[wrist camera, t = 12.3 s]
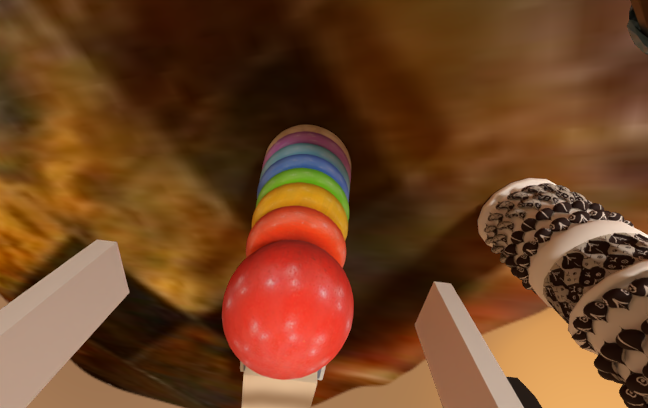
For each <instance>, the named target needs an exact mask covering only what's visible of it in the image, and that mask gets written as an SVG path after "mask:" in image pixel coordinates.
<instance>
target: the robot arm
mask: <svg viewBox="0 0 648 408" xmlns="http://www.w3.org/2000/svg"><path fill="white" fill-rule="evenodd" d="M630 1H631V3H632V6H631V8H630V11H629V22H628V25H627V28H628V31H629V34H630V36H631V38H632V40H633V42H634V44H635V45H636V46H637V47H638V48H640V49H641V50H642V51H643V52H644V53H645V54H647V55H648V0H630ZM128 294H129V289H128V285H127V281H126V277H125V273H124V269H123V265H122V260H121V256H120V252H119V248H118V244H117V242H113V241H105V240H96V241H94V242H93V243H91V244H90V245H89V246H87V247H86V248H85V249H83V250H82V251H80V252H79V253H78V254H76V255H75V256H74V257H72V258H71V259H69V260H68V261H67V262H65V263H64V264H62V265H61V266H60V267H58V268H57V269H56V270H54V271H53V272H51V273H50V274H49V275H47V276H46V277H45V278H43V279H42V280H40V281H39V282H38V283H36V284H35V285H33V286H32V287H31V288H29V289H28V290H27V291H25V292H24V293H22V294H21V295H20V296H18V297H17V298H16V299H14V300H13V301H11V302H10V303H9V304H7V305H6V306H4V307H3V308H2V309H0V408H26V407H27V406H28V405H29V404H30V402H31V401H32V400H33V399H34V398H35V397H36V396H37V395H38V394H39V392H40V391H41V390H42V389H43V388H44V387H45V386H46V385H47V384H48V382H49V381H50V380H51V379H52V378H53V377H54V376H55V375H56V374H57V372H58V371H59V370H60V369H61V368H62V367H63V366H64V365H65V364H66V362H67V361H68V360H69V359H70V358H71V357H72V356H73V355H74V354H75V352H76V351H77V350H78V349H79V348H80V347H81V346H82V345H83V344H84V342H85V341H86V340H87V339H88V338H89V337H90V336H91V335H92V334H93V332H94V331H95V330H96V329H97V328H98V327H99V326H100V325H101V324H102V322H103V321H104V320H105V319H106V318H107V317H108V316H109V315H110V314H111V312H112V311H113V310H114V309H115V308H116V307H117V306H118V305H119V304H120V302H121V301H122V300H123V299H124V298H125V297H126V296H127V295H128ZM415 328H416V331H417V334H418V337H419V340H420V343H421V345H422V348H423V351H424V354H425V357H426V360H427V363H428V365H429V369H430V371H431V374H432V377H433V380H434V383H435V386H436V389H437V392H438V395H439V397H440V400H441V403H442V406H443V408H542V407H541V405H540V404H539V402H538V401H537V399H536V397H535V396H534V395H533V394H532V393H531V392H530V391H529V390H528V388H526V386H525V385H524V384H523V383H522V382H521V381H520V380H519V379H518V378H513V377H506V376H505V375H504V373H503V371H502V369H501V368H500V366H499V364H498V363H497V361H496V359H495V357H494V356H493V354H492V352H491V351H490V349H489V347H488V346H487V344H486V342H485V340H484V339H483V337H482V335H481V334H480V332H479V330H478V329H477V327H476V325H475V323H474V322H473V320H472V318H471V317H470V315H469V313H468V312H467V310H466V308H465V306H464V305H463V303H462V301H461V300H460V298H459V296H458V295H457V293H456V291H455V289H454V288H453V286H452V284H451V283H443V282H435V281H434V282H433V284H432V287H431V289H430V291H429V293H428V296H427V298H426V300H425V303H424V305H423V307H422V309H421V312H420V314H419V316H418V318H417V321H416V323H415Z"/></svg>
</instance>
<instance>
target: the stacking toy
mask: <svg viewBox="0 0 648 408" xmlns="http://www.w3.org/2000/svg"><path fill="white" fill-rule="evenodd" d="M350 183H351V160H350V156H349V153H348V151H347V149H346V147H345V145H344V144H343V142H342V141H341V140H340V139H339V138H338V137H337V136H336V135H335V134H333V133H332V132H330V131H329V130H327V129H324V128H322V127H319V126H315V125H297V126H293V127H290V128H288V129H286V130H284V131H283V132H281V133H280V134H279V135H277V136H276V137H275V139H274V140H273V141H272V142H271V144H270V145H269V147H268V149H267V151H266V154H265V159H264V162H263V166H262V172H261V176H260V182H259V185H258V190H257V202H256V209H255V211H254V214H253V218H252V229H251V231H250V233H249V236H248V239H247V243H246V257H247V258H246V259H244V261H243V262H242V263H241V264H240V265H239V266H238V268H237V269H236V271H235V272H234V274H233V275H232V277H231V279H230V280H229V283H228V286H227V288H226V291H225V294H224V300H223V306H222V322H223V329H224V333H225V336H226V339H227V341H228V344H229V346H230V348H231V350H232V351H233V352H234V354H235V355H236V356H237V358H238V359H239V360H240V361H241V362H242V363H243V364H244V365H245V366H247V367H248V368H249V369H251V370H252V371H254V372H256V373H258V374H260V375H262V376H265V377H269V378H273V379H280V380H290V379H297V378H302V377H305V376H308V375H310V374H312V373H315V372H317V371H318V370H320V369H321V368H322V367H324V366H325V365H327V364H328V363H329V362H330V361H331V360H332V359H333V358H334V357H335V356H336V355H337V353H338V352H339V351H340V349H341V348H342V346H343V344H344V343H345V341H346V339H347V337H348V334H349V332H350V329H351V326H352V320H353V309H354V302H353V294H352V290H351V286H350V283H349V280H348V278H347V276H346V274H345V272H344V270H343V269H342V268H343V266H344V263H345V259H346V244H345V240H346V237H347V233H348V220H349V193H350Z"/></svg>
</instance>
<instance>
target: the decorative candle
mask: <svg viewBox="0 0 648 408" xmlns="http://www.w3.org/2000/svg"><path fill="white" fill-rule="evenodd" d="M477 222H478V233H479V235H480V236H481V237H482V239H483V240H484V242H485V243H486V244H487V245H489V246H491V247H492V248H491V251H492V252H493V253H496V254H498V253H501V255H500V256H501V257H500V261H501V262H502V263H506V265H507V266H508V267H511V272H512V274H513V275H514V276H516V277H518V278H519V279H521V280H522V284H523V286H524V287H525V288H526V289H528V290H533V292H534V293H535V294H537V295H538V296H539V297H540V298H541V299H542V300H543V301H544V302H545V303H546V304H547V305H548V306H549V307H551V308H553V309H555V311H557V312H558V314H559V315H560V316H561V317H562V318H563V319H564V320H565V321H566V322H567V323H568V324H569V327H568V331H569V332H570V334H571V335H572V338H573V339H574V340H575V341H576V343H577V344H578V345H579V346H580V347H581V348H582V349H585V350H588V351H590V352H593V353H595V354H597V355H598V357H597V358H596V359H595V361H594V366H595V367H596V368H597V369H598V373H599V374H600V376H602V377H603V378H604V379H607V380H611V381H614V382H616V383H620V384H623V385H622V387H621V388H620V390H619V393H620V396H621V397H622V399H623V400H624V403H625V404H626V406H627V407H628V408H648V235H647V234H645V233H643V232H641V231H639V230H637V229H636V228H634V226H633V224H632V223H631V222H629V221H627V220H624V217H623V216H622V215H621V214H619V213H614V212H612V213H611V212H609V211H604V208H603V207H602V206H601V205H600V204H597V203H591V202H590V201H588V200H586V199H585V197H584V196H582V195H581V194H579V193H576V192H570V190H569V189H568V188H566V187H564V186H561V185H556V184H554V183H552V182H551V181H549V180H547V179H538V178H527V179H523V180H519V181H516V182H512V183H510V184H508V185H507V186H505V187H503V188H502V189H500V190H499V191H497V192H495V193H494V194H493V195H492V196H491V198H490V199H489V200H488V201H487V202H486V203H485V204H484V206H483V207H482V210H481V212H480V215H479V217H478V220H477Z"/></svg>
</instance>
